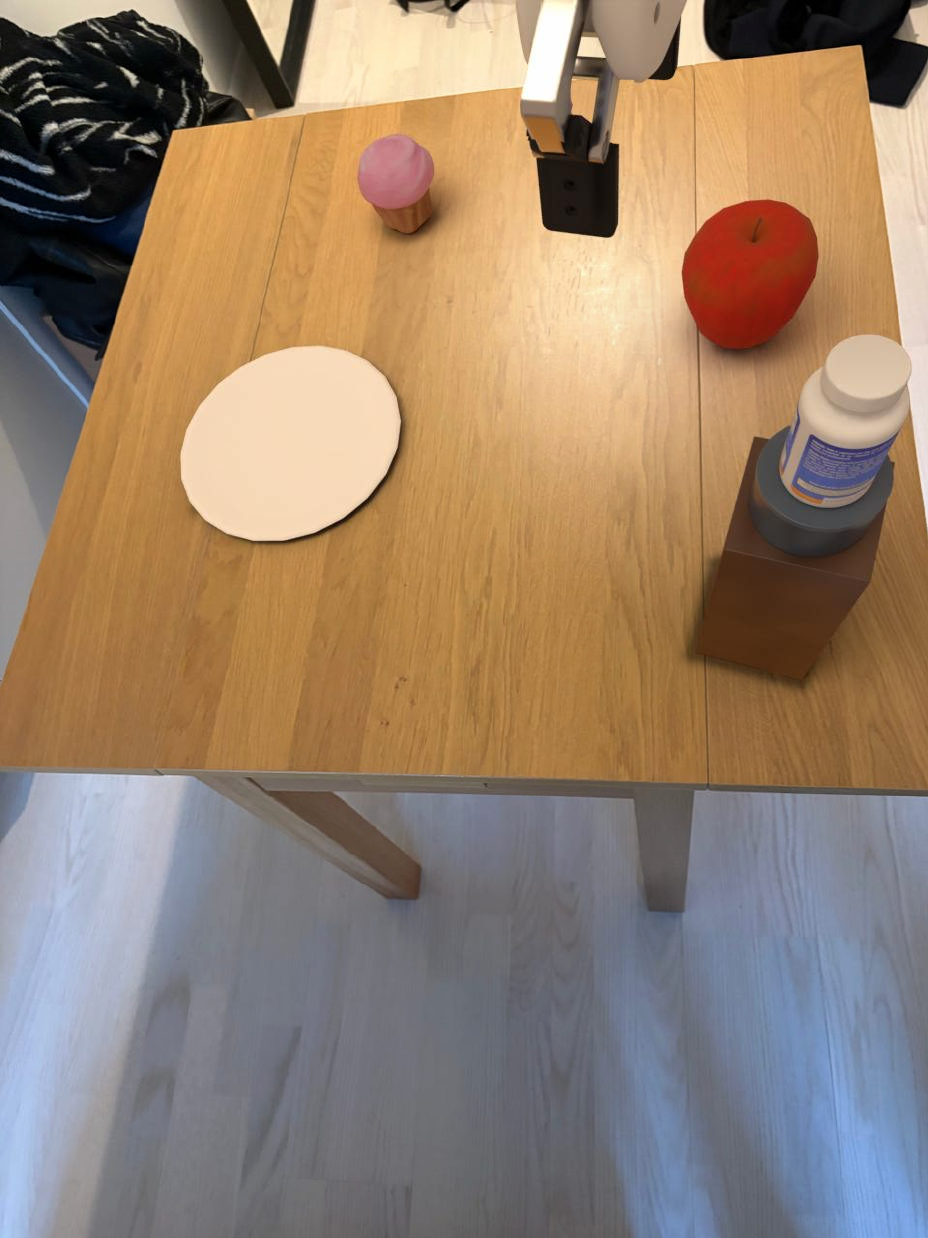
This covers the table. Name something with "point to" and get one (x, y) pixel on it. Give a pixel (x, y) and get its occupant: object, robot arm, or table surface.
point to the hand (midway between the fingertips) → (612, 148)
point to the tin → (810, 509)
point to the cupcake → (397, 181)
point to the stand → (780, 593)
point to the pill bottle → (846, 421)
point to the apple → (749, 271)
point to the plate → (290, 443)
